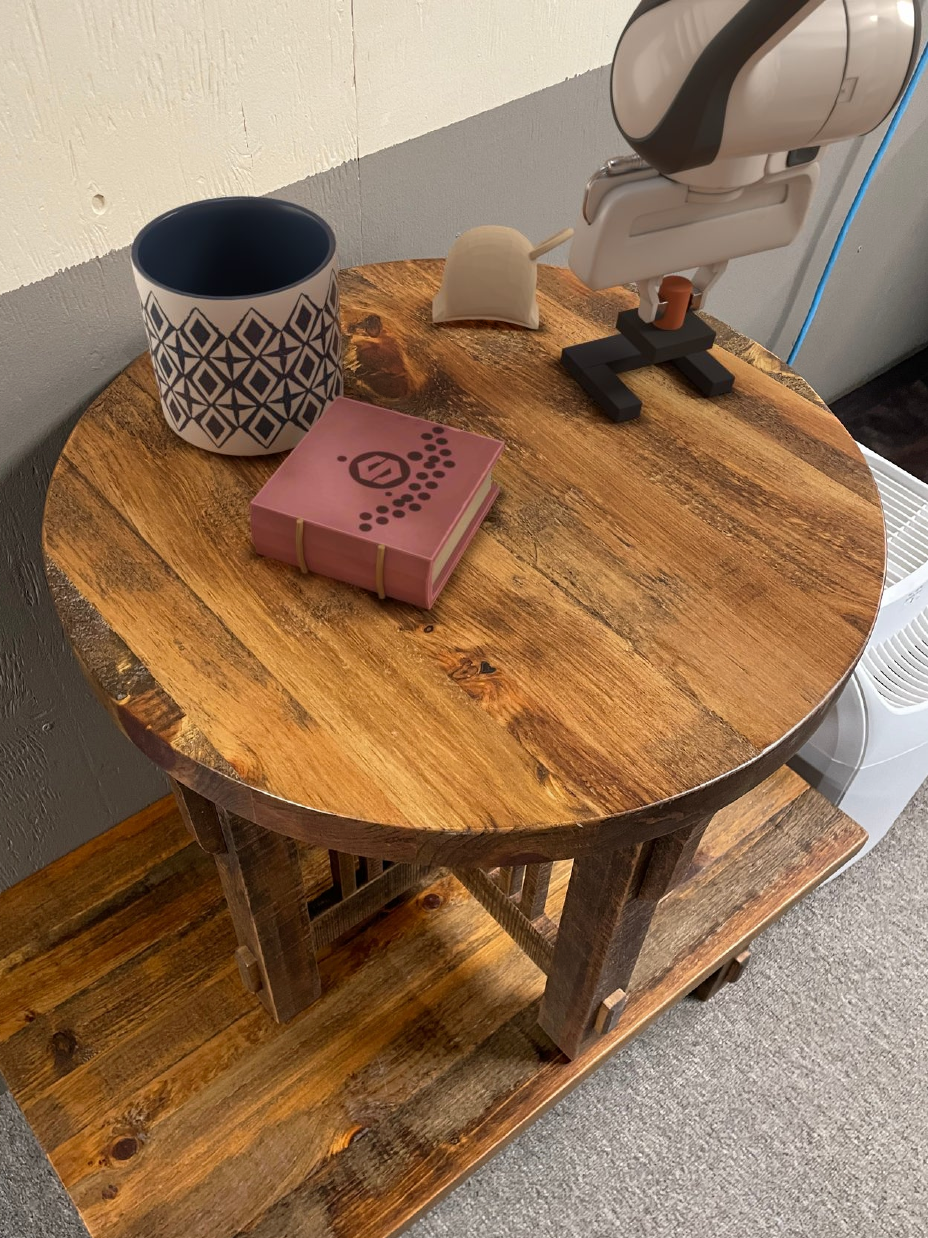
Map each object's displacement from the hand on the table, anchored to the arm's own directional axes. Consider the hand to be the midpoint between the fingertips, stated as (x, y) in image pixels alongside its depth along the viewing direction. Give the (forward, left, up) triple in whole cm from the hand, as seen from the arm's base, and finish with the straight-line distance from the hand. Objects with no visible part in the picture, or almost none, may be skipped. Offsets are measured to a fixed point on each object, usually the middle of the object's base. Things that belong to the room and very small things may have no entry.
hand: (670, 312), depth 84 cm
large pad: (0, -2, -7) cm, 7 cm away
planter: (+34, -12, -7) cm, 36 cm away
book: (+30, +7, -7) cm, 32 cm away
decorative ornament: (+13, -18, -8) cm, 24 cm away
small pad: (0, 0, -2) cm, 2 cm away
